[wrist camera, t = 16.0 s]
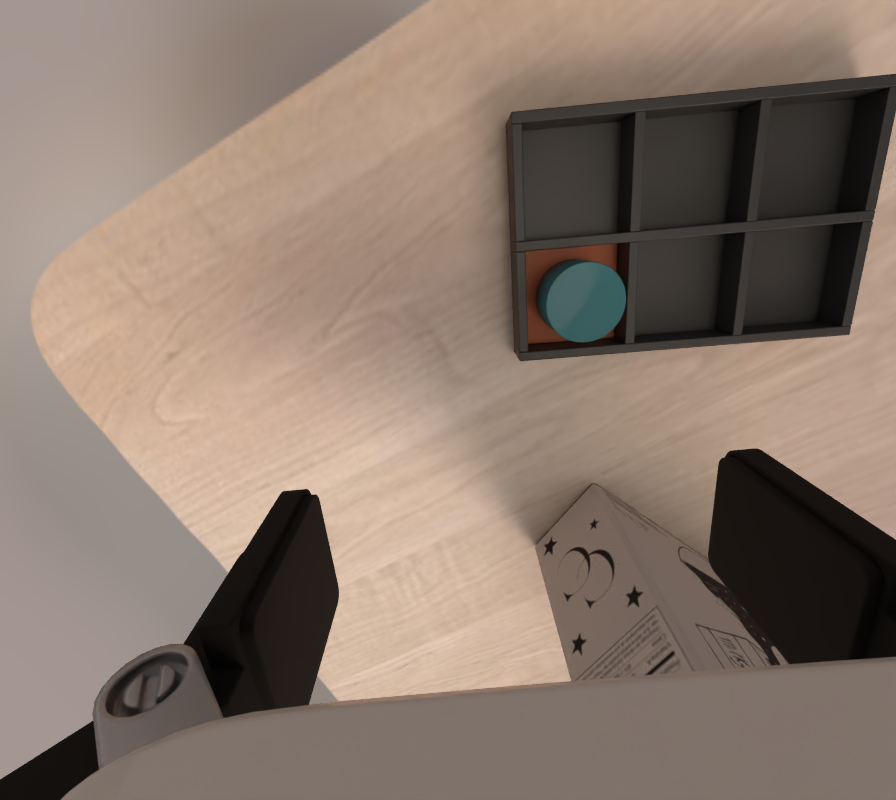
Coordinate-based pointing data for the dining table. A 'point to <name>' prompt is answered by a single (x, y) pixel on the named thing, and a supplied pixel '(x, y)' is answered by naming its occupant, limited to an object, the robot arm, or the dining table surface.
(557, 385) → the dining table surface
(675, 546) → the cereal box
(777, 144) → the grid
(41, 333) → the dining table surface
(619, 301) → the cylinder
